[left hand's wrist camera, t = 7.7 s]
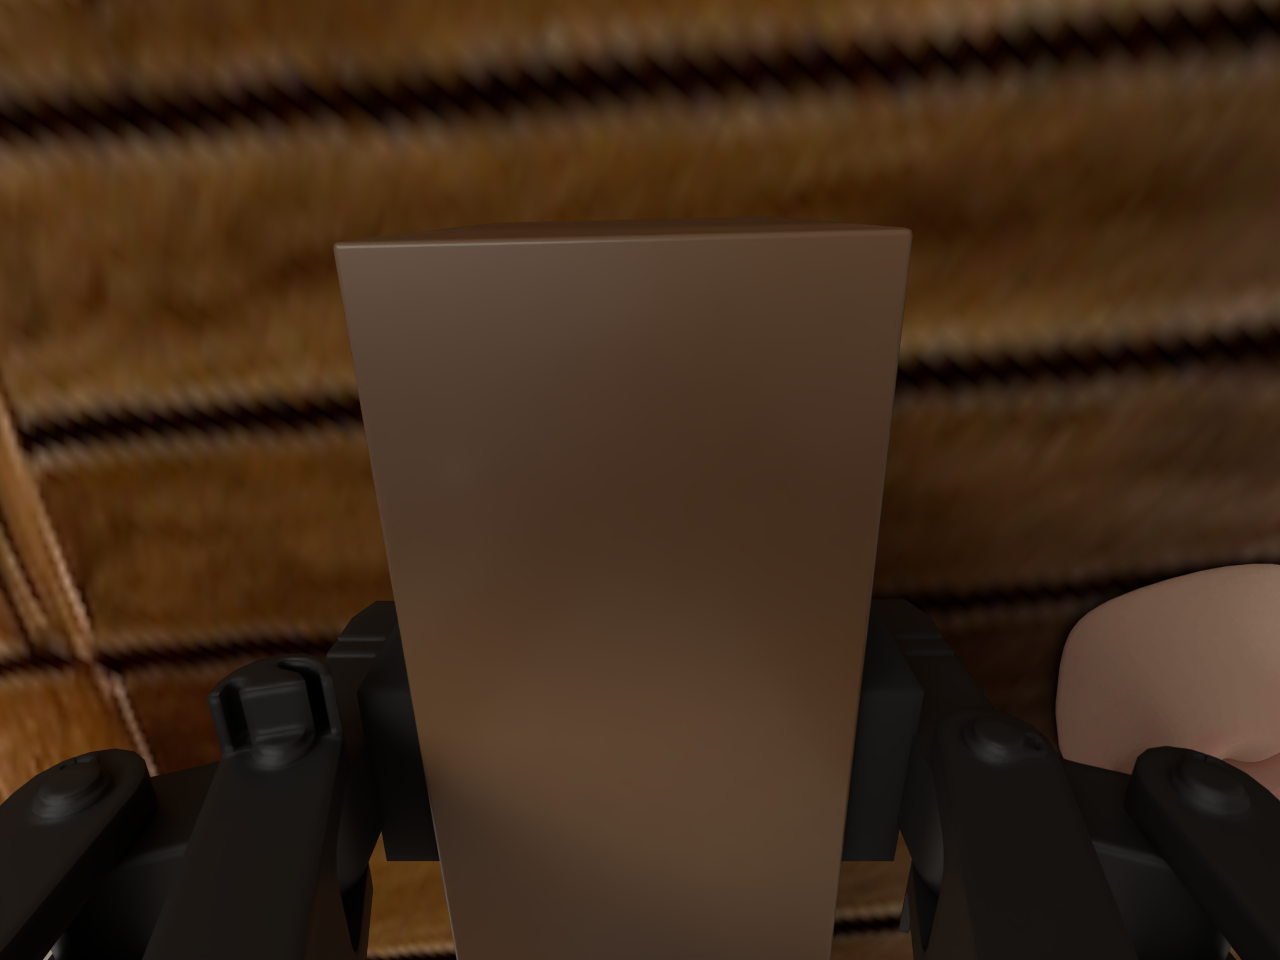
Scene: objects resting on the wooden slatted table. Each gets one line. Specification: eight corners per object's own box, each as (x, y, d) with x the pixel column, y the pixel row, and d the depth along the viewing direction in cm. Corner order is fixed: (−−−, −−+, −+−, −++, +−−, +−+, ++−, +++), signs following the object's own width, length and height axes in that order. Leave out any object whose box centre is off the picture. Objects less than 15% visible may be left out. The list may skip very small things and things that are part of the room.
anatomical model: (1065, 728, 22) (1457, 538, 19) (1001, 652, 25) (1324, 485, 23) (1201, 967, 26) (1537, 833, 23) (1129, 871, 29) (1413, 747, 27)
